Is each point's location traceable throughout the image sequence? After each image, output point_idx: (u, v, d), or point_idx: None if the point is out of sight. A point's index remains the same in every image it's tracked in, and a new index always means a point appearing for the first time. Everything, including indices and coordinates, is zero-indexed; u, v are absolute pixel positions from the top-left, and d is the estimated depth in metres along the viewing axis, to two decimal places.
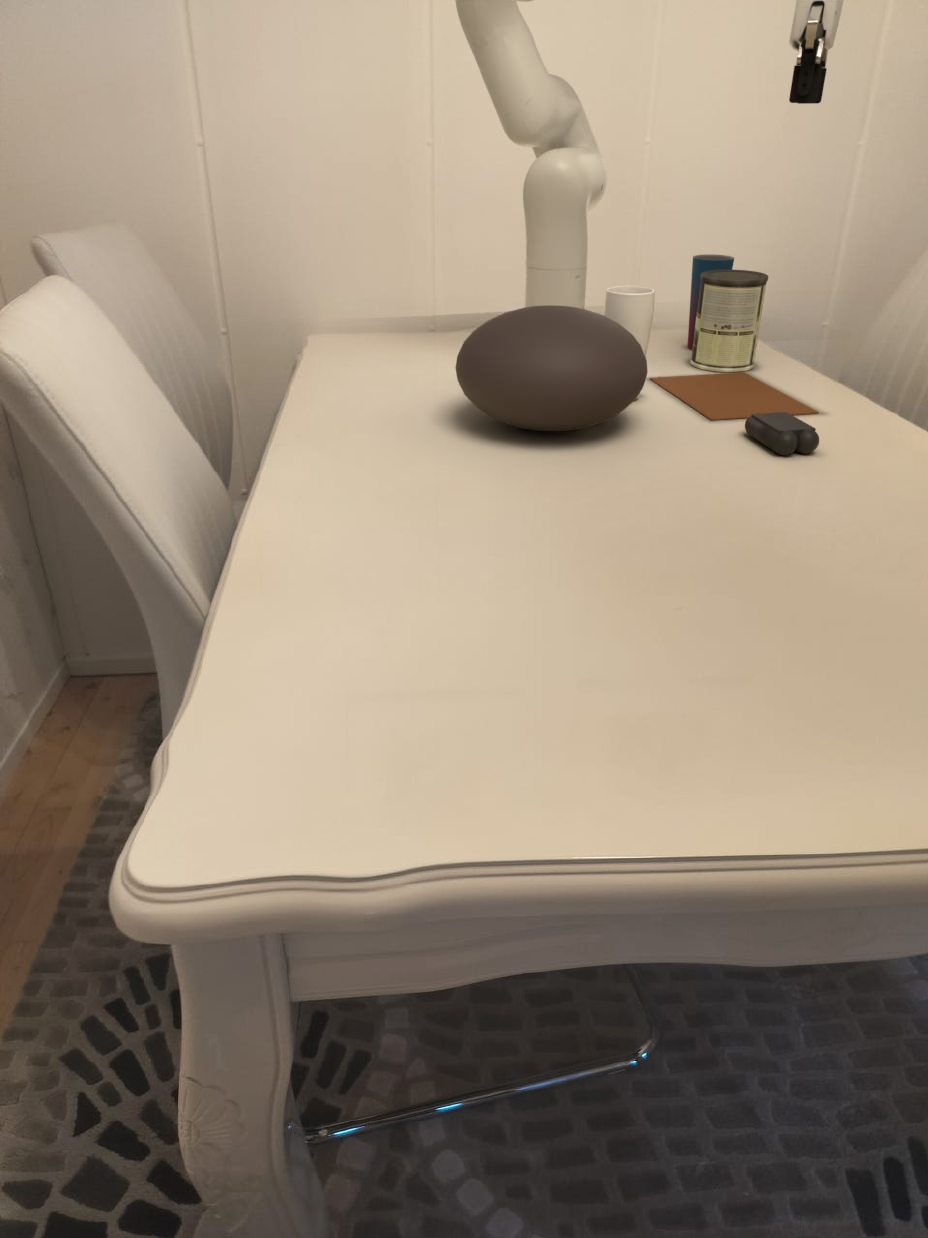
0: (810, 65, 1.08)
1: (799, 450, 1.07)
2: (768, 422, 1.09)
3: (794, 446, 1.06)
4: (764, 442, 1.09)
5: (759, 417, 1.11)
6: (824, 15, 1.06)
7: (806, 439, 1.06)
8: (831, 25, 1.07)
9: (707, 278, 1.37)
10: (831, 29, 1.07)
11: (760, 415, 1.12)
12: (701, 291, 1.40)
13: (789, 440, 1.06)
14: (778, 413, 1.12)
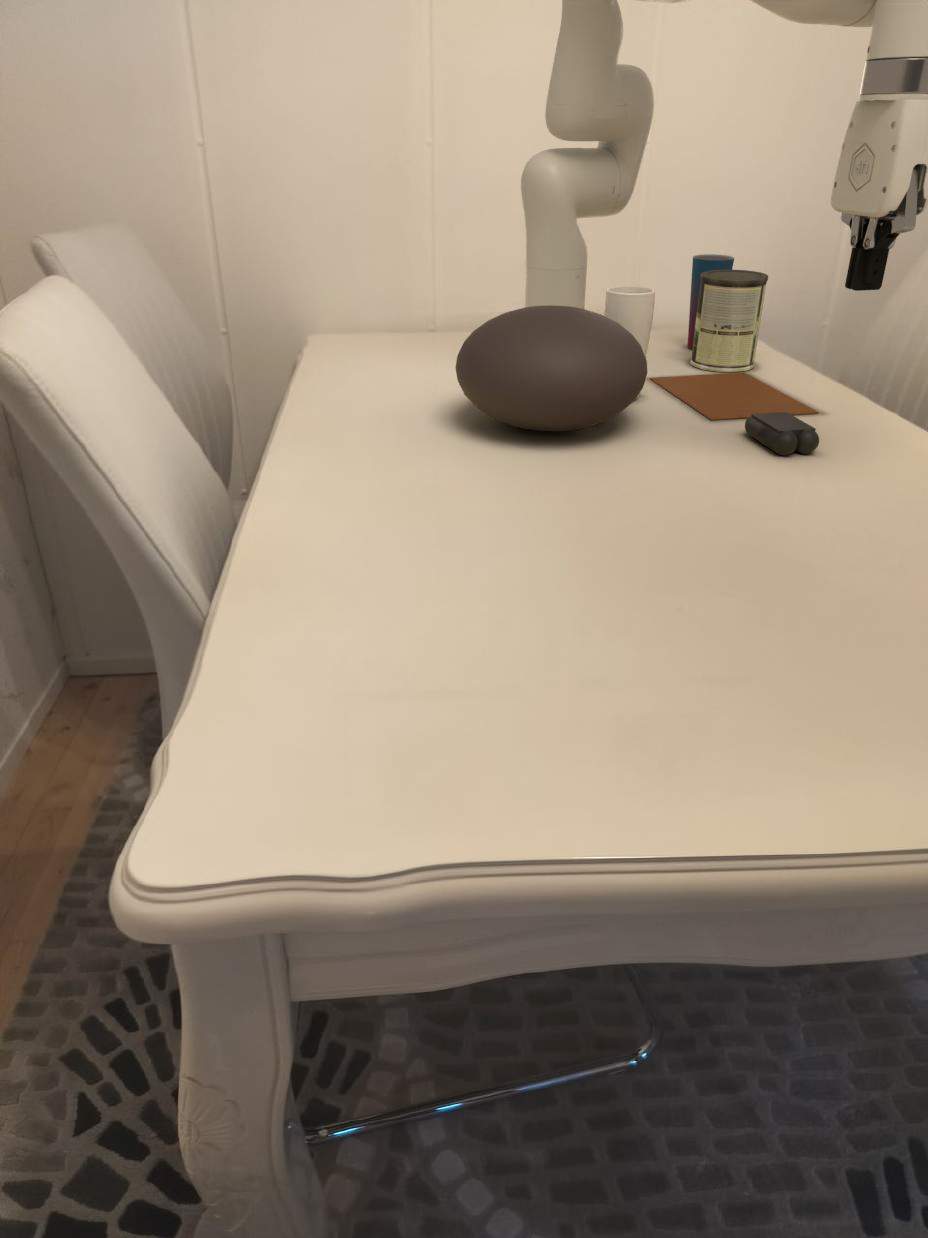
0: (882, 250, 0.89)
1: (799, 450, 1.07)
2: (768, 422, 1.09)
3: (794, 446, 1.06)
4: (764, 442, 1.09)
5: (759, 417, 1.11)
6: (926, 181, 0.83)
7: (806, 439, 1.06)
8: None
9: (707, 278, 1.37)
10: None
11: (760, 415, 1.12)
12: (701, 291, 1.40)
13: (789, 440, 1.06)
14: (778, 413, 1.12)
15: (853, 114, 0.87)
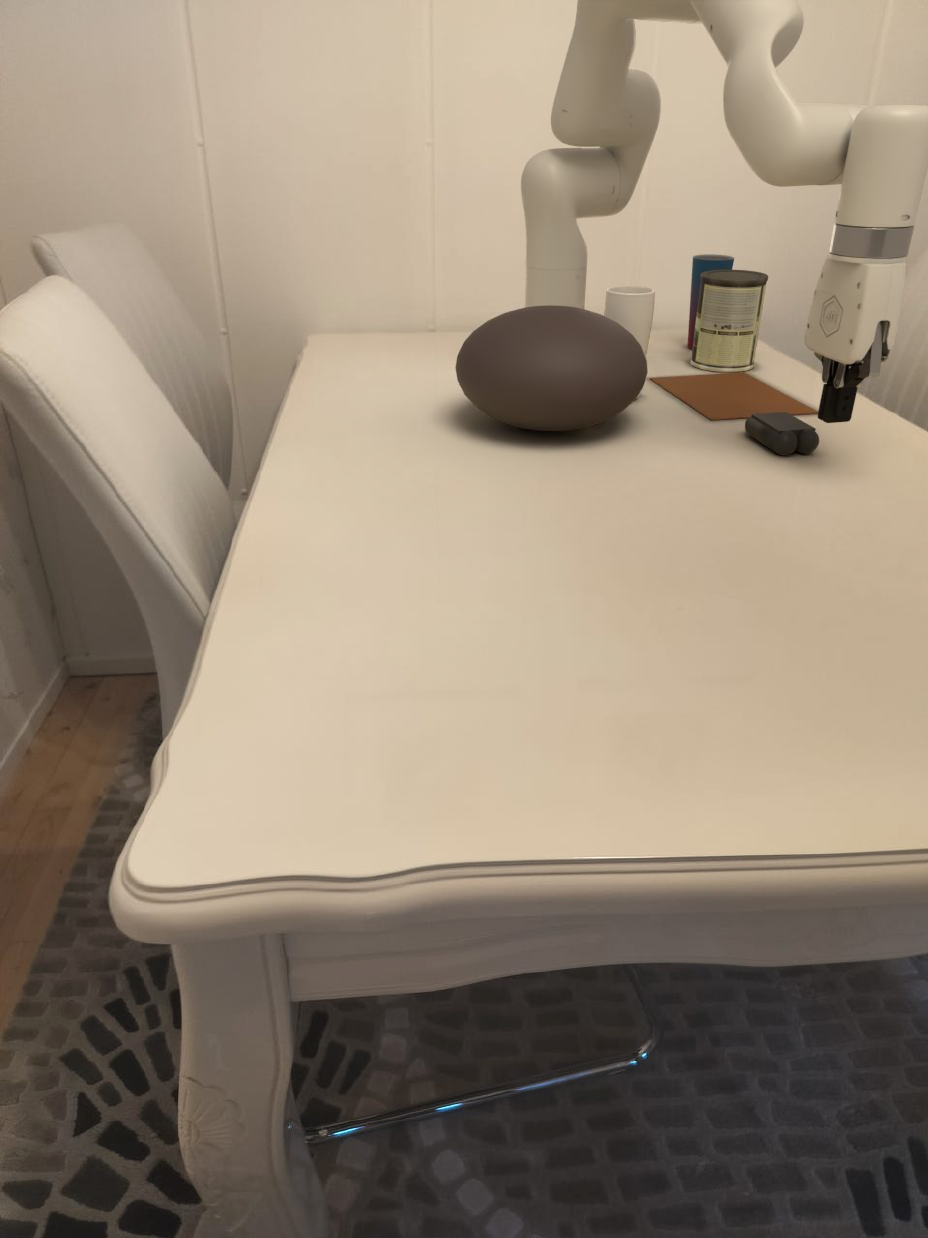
0: (851, 388, 0.96)
1: (799, 450, 1.07)
2: (768, 422, 1.09)
3: (794, 446, 1.06)
4: (764, 442, 1.09)
5: (759, 417, 1.11)
6: (889, 335, 0.90)
7: (806, 439, 1.06)
8: None
9: (707, 278, 1.37)
10: None
11: (760, 415, 1.12)
12: (701, 291, 1.40)
13: (789, 440, 1.06)
14: (778, 413, 1.12)
15: (824, 266, 0.94)
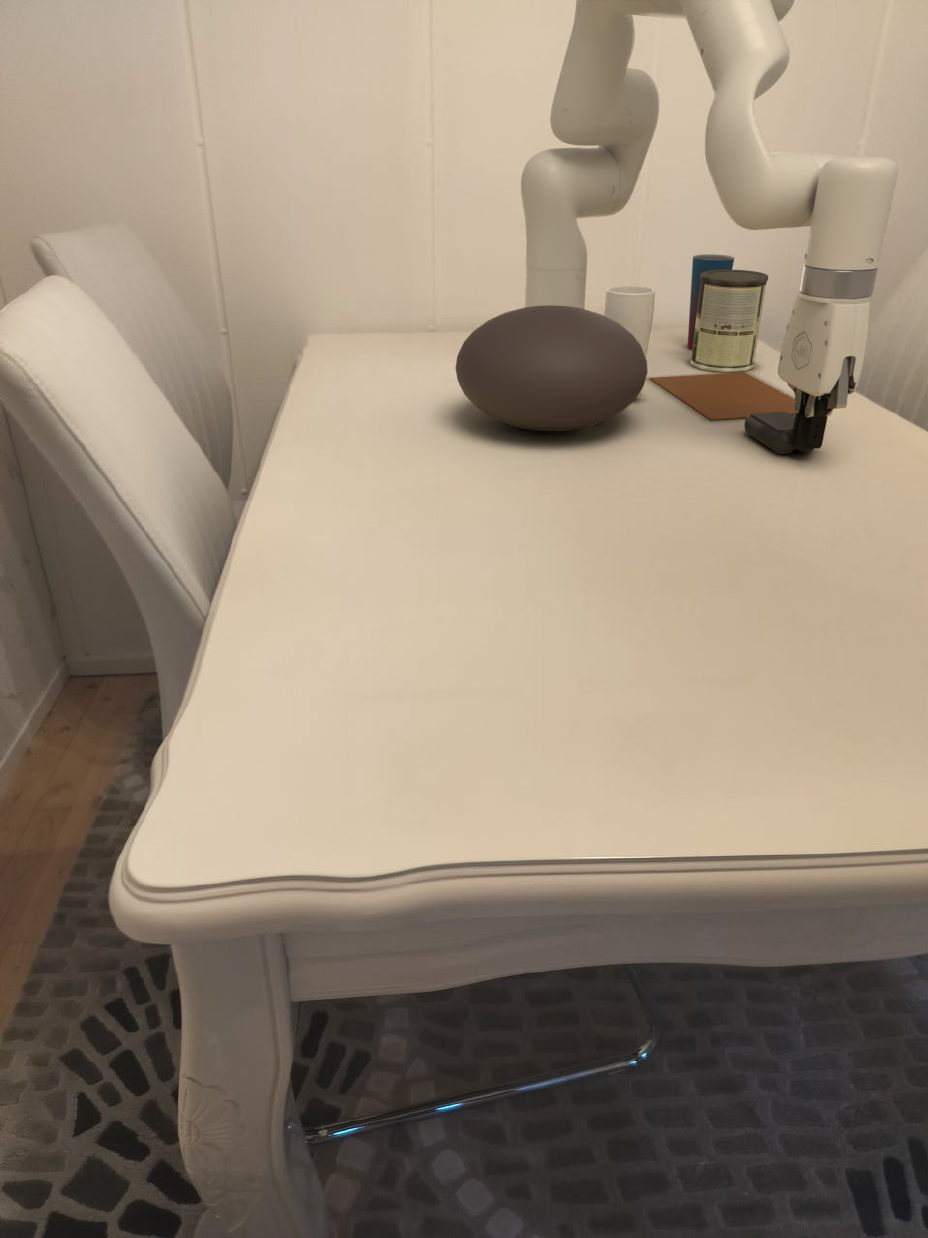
0: (821, 418, 1.02)
1: None
2: (767, 422, 1.09)
3: None
4: (763, 441, 1.09)
5: (758, 416, 1.11)
6: (855, 369, 0.96)
7: None
8: (859, 377, 0.97)
9: (707, 278, 1.37)
10: (858, 381, 0.98)
11: (759, 414, 1.12)
12: (701, 291, 1.40)
13: (789, 440, 1.06)
14: (777, 413, 1.13)
15: (795, 303, 1.00)
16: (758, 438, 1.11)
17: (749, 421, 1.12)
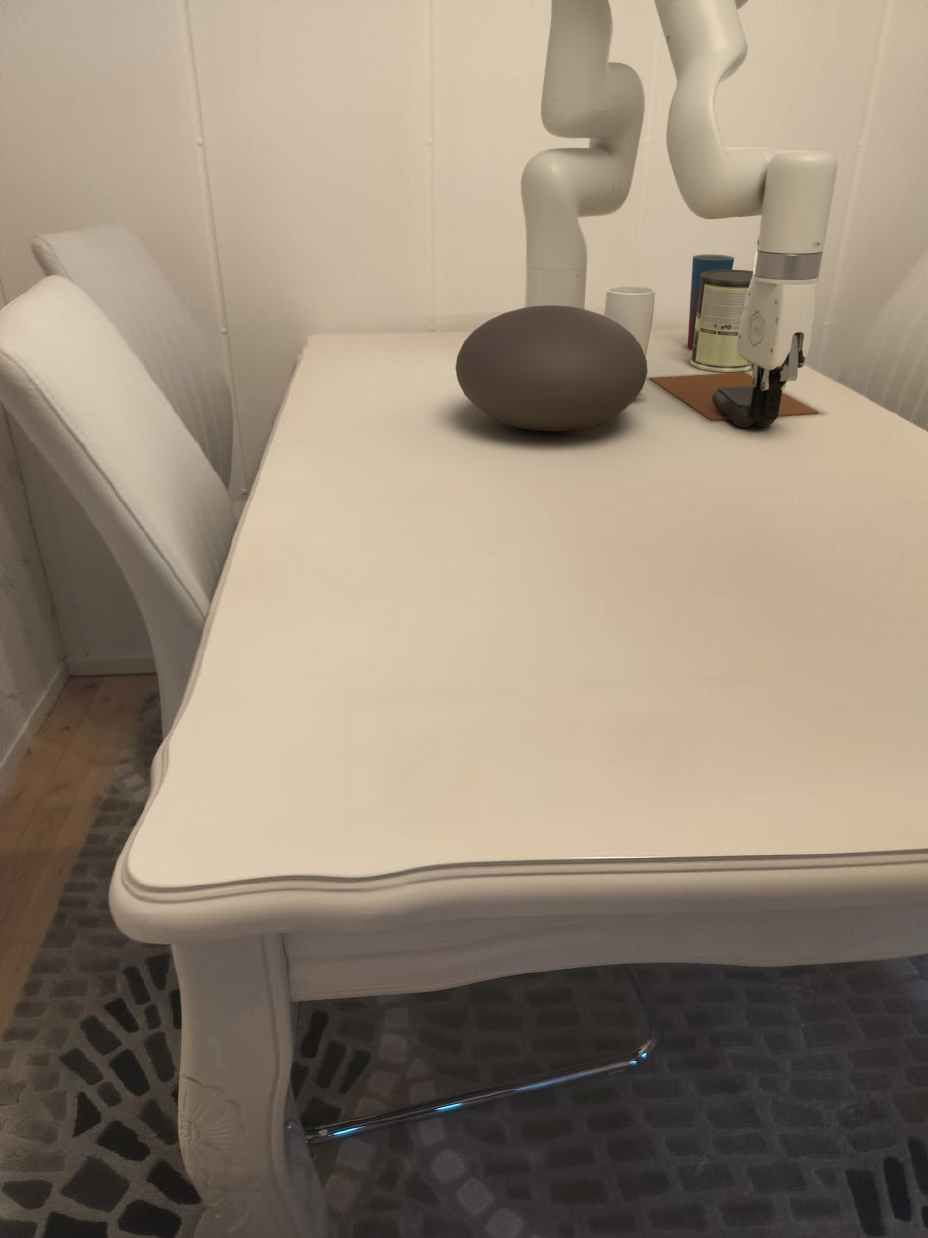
0: (776, 391, 1.11)
1: (758, 423, 1.17)
2: (731, 396, 1.18)
3: (752, 420, 1.15)
4: (727, 415, 1.19)
5: (724, 391, 1.20)
6: (804, 345, 1.05)
7: None
8: (808, 352, 1.06)
9: (707, 278, 1.37)
10: (807, 355, 1.07)
11: (726, 389, 1.21)
12: (701, 291, 1.40)
13: (748, 414, 1.15)
14: (743, 387, 1.21)
15: (750, 285, 1.09)
16: (723, 411, 1.20)
17: (716, 395, 1.21)
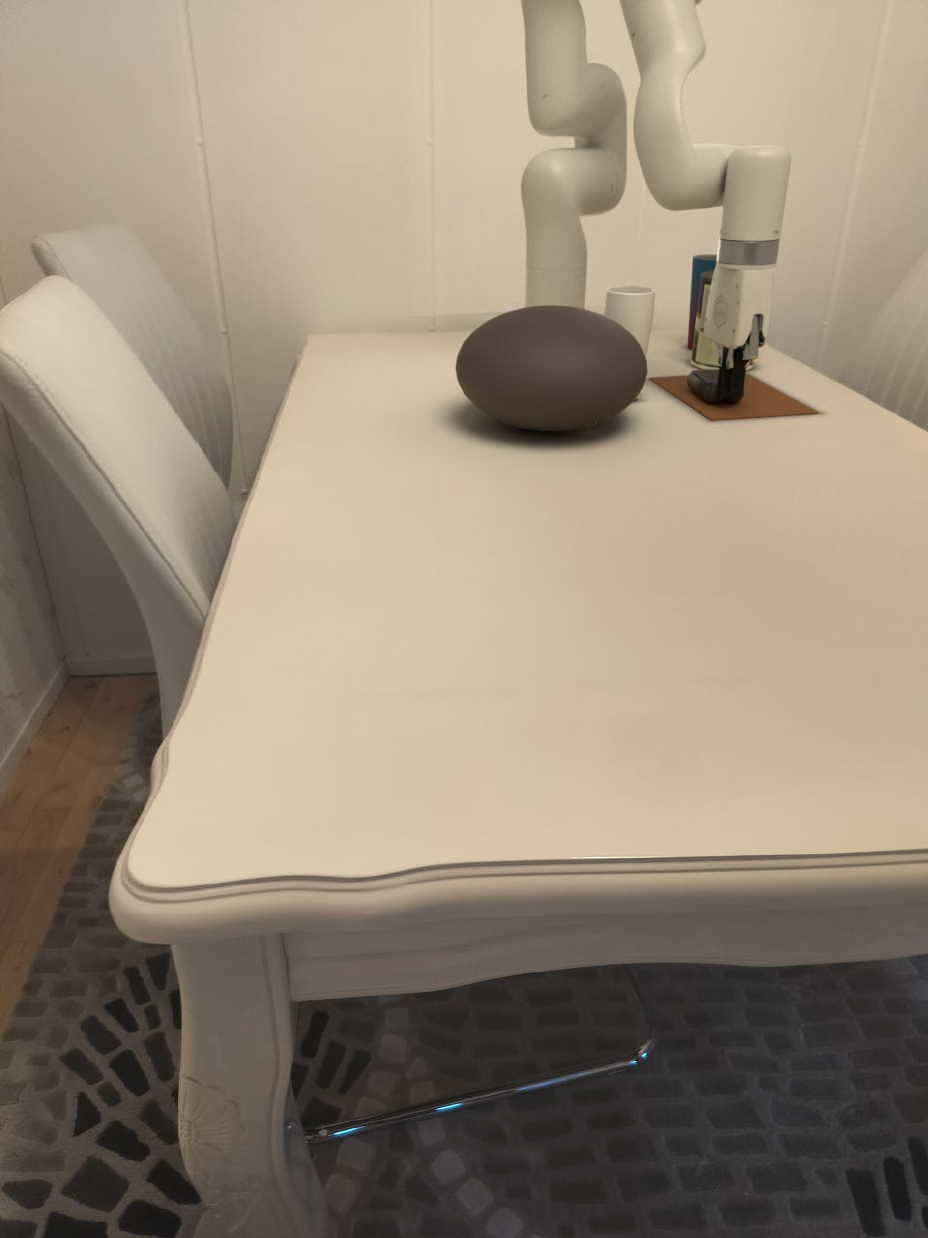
0: (740, 369, 1.20)
1: (726, 400, 1.25)
2: (702, 376, 1.27)
3: None
4: (698, 393, 1.27)
5: (697, 373, 1.29)
6: (763, 325, 1.14)
7: None
8: (768, 332, 1.15)
9: (707, 278, 1.37)
10: (767, 335, 1.15)
11: (698, 371, 1.30)
12: (701, 291, 1.40)
13: None
14: (715, 370, 1.30)
15: (715, 271, 1.18)
16: (695, 391, 1.29)
17: (690, 377, 1.30)
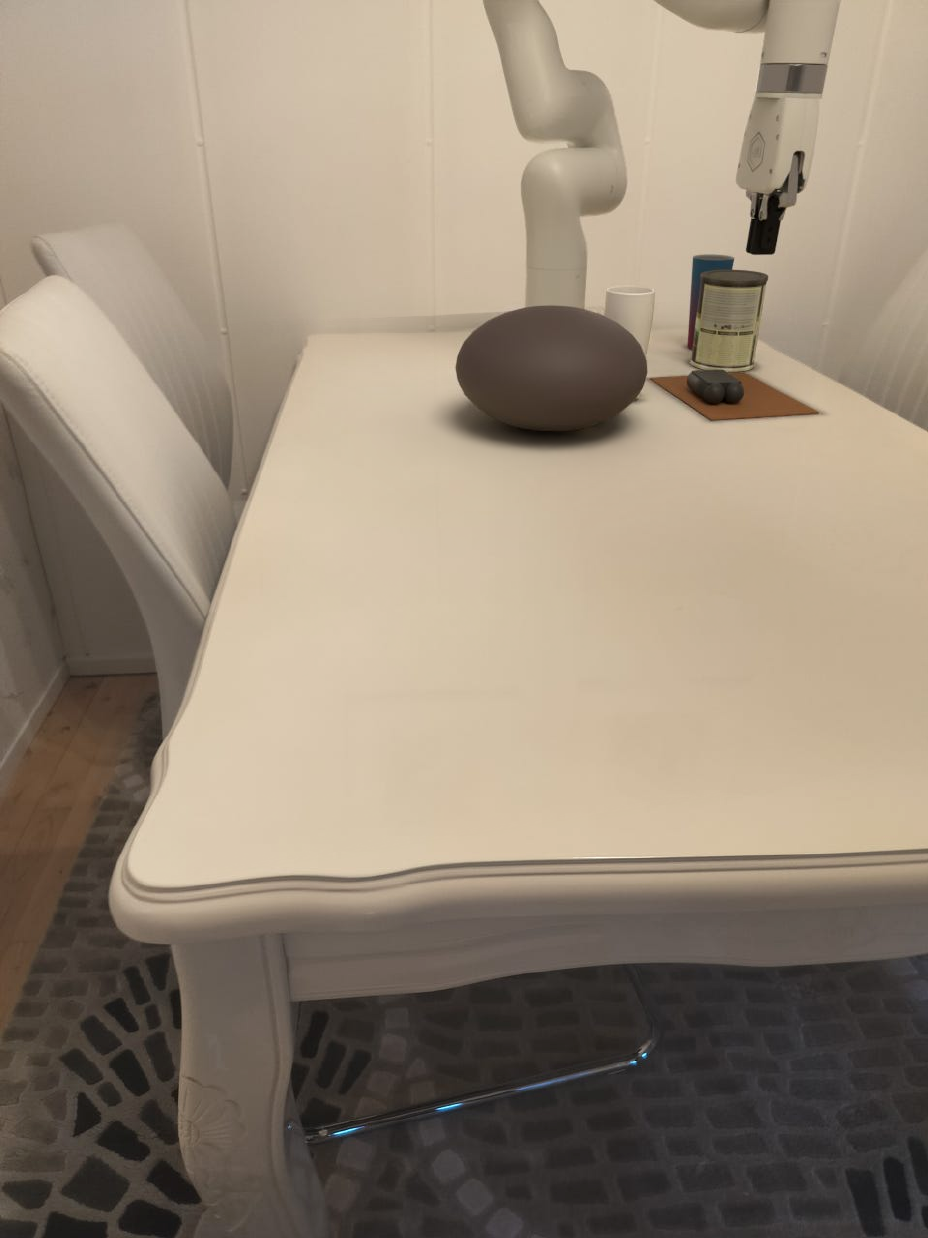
0: (774, 221, 1.09)
1: (726, 400, 1.25)
2: (702, 376, 1.27)
3: (721, 396, 1.24)
4: (698, 393, 1.27)
5: (697, 373, 1.29)
6: (804, 165, 1.02)
7: (732, 390, 1.24)
8: None
9: (707, 278, 1.37)
10: (807, 178, 1.04)
11: (698, 371, 1.30)
12: (701, 291, 1.40)
13: (716, 391, 1.24)
14: (715, 370, 1.30)
15: (752, 107, 1.06)
16: (695, 391, 1.29)
17: (690, 377, 1.30)
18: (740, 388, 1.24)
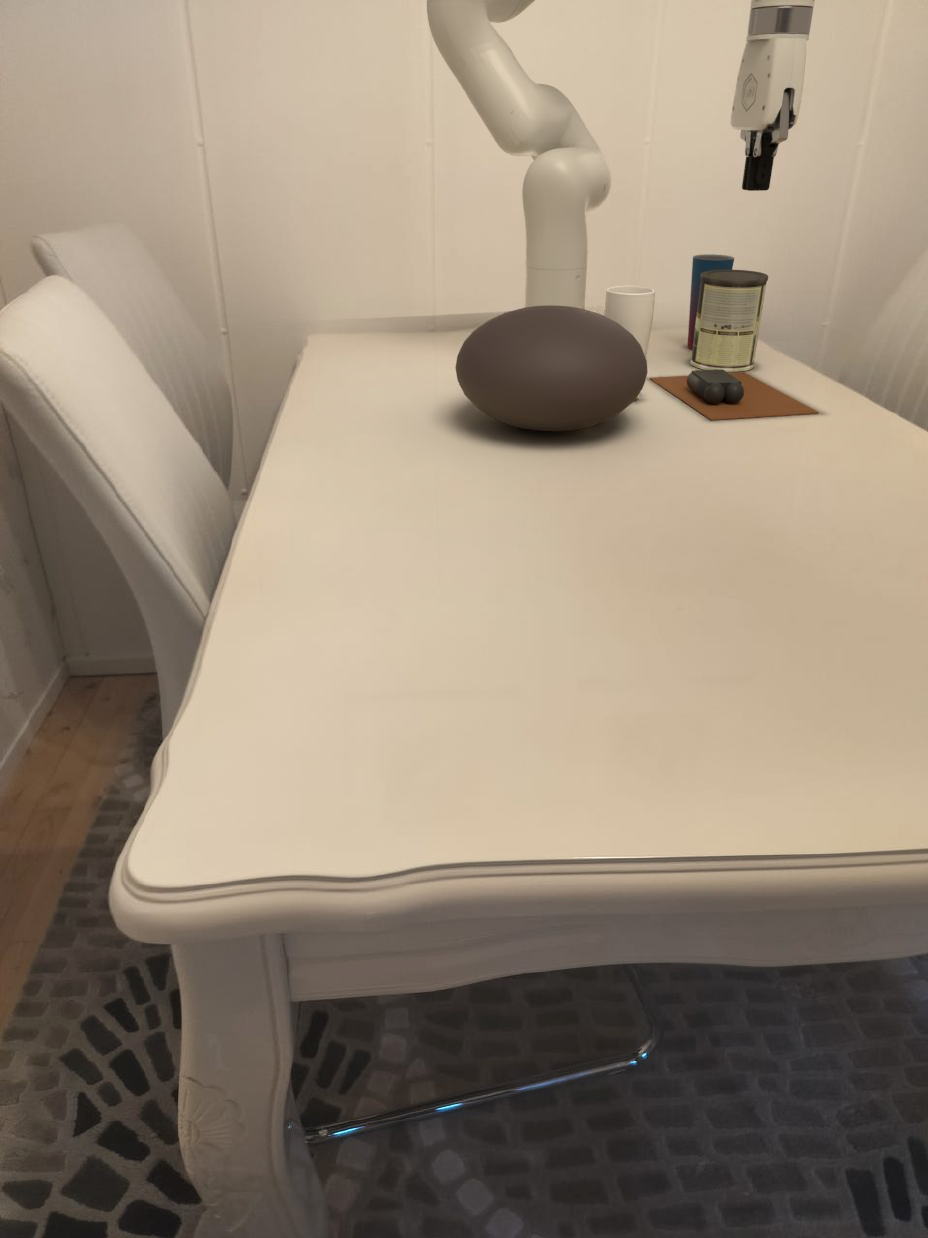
0: (767, 157, 1.17)
1: (726, 400, 1.25)
2: (702, 376, 1.27)
3: (721, 396, 1.24)
4: (698, 393, 1.27)
5: (697, 373, 1.29)
6: (794, 101, 1.11)
7: (732, 390, 1.24)
8: None
9: (707, 278, 1.37)
10: None
11: (698, 371, 1.30)
12: (701, 291, 1.40)
13: (716, 391, 1.24)
14: (715, 370, 1.30)
15: (744, 52, 1.14)
16: (695, 391, 1.29)
17: (690, 377, 1.30)
18: (740, 388, 1.24)
